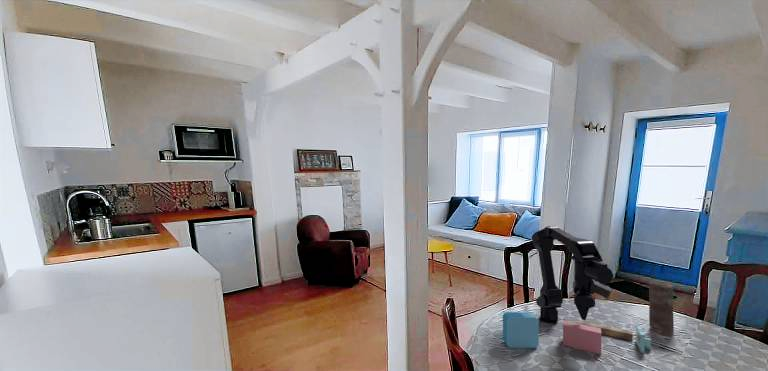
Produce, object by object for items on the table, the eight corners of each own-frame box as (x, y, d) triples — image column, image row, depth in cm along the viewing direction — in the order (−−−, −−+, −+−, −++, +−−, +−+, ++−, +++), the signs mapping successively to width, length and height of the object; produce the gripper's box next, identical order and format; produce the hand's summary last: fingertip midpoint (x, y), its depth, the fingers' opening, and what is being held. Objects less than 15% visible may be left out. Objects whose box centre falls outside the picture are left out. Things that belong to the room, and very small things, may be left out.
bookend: (640, 352, 108) (640, 334, 108) (635, 341, 115) (636, 323, 115) (653, 355, 106) (653, 336, 106) (648, 344, 113) (648, 326, 113)
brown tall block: (644, 328, 124) (645, 281, 123) (654, 324, 127) (655, 278, 126) (667, 337, 117) (668, 288, 116) (677, 333, 120) (678, 285, 119)
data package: (533, 341, 117) (533, 311, 117) (538, 348, 113) (538, 317, 112) (502, 341, 118) (502, 312, 117) (507, 348, 113) (506, 317, 113)
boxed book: (562, 345, 114) (562, 324, 114) (563, 340, 118) (563, 320, 117) (601, 354, 108) (601, 333, 108) (600, 349, 111) (600, 328, 111)
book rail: (577, 328, 126) (577, 322, 125) (577, 326, 127) (577, 320, 127) (632, 340, 116) (632, 334, 116) (631, 338, 118) (631, 332, 117)
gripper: (613, 286, 99) (613, 331, 100) (606, 269, 115) (606, 309, 116) (574, 280, 105) (574, 323, 106) (572, 265, 121) (572, 303, 122)
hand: (583, 314), depth 112 cm, fingers open, 9 cm apart
